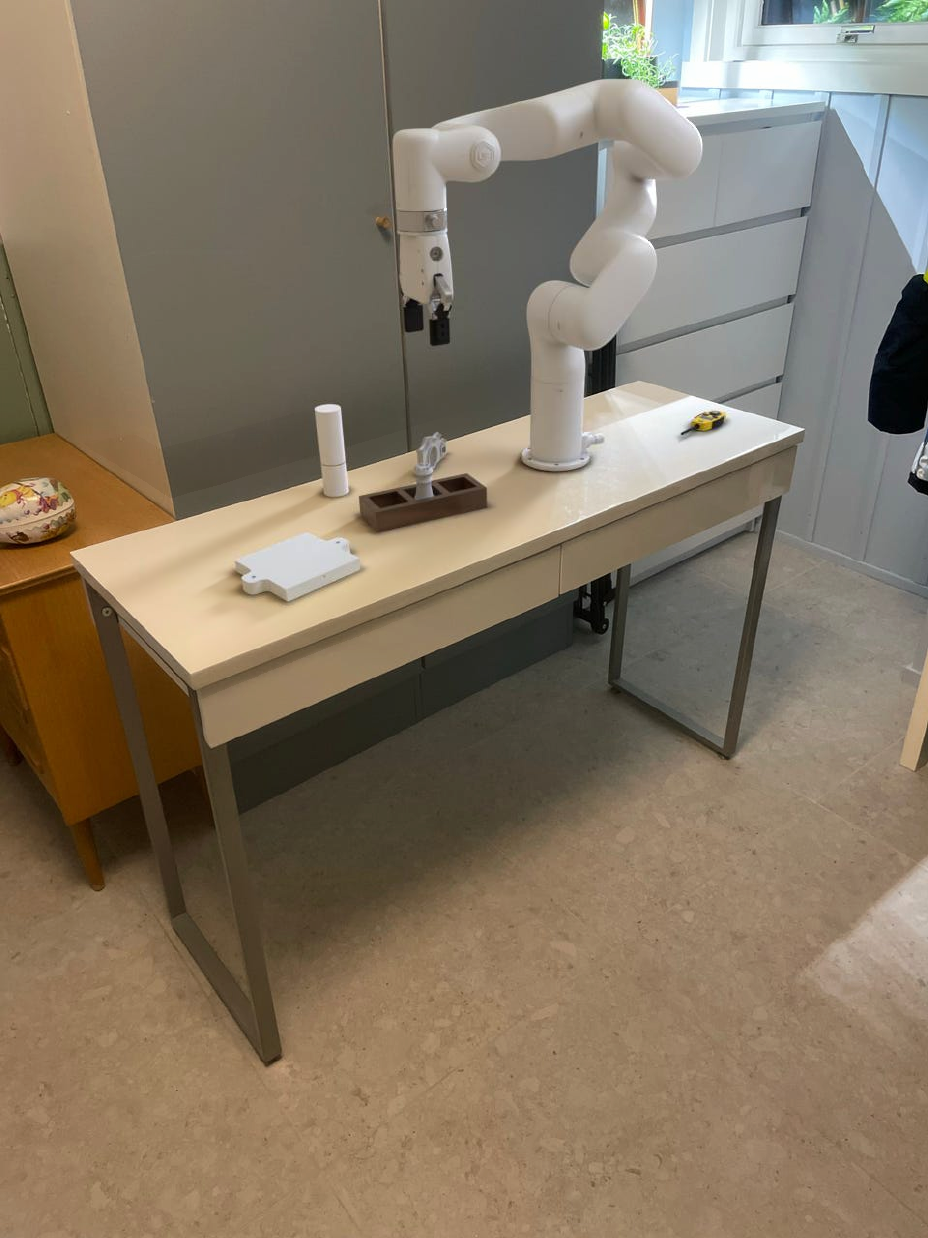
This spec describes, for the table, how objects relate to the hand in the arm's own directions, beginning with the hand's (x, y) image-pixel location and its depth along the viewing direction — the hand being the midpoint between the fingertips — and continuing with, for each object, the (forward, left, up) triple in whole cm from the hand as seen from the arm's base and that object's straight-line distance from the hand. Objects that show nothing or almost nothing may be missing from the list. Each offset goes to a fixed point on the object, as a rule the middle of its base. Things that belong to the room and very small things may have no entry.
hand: (426, 337), depth 147 cm
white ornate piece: (-5, -11, -26) cm, 29 cm away
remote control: (-60, -2, -26) cm, 66 cm away
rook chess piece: (+5, +7, -26) cm, 28 cm away
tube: (+15, -8, -26) cm, 31 cm away
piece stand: (+5, +7, -26) cm, 28 cm away
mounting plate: (+30, +17, -26) cm, 43 cm away
